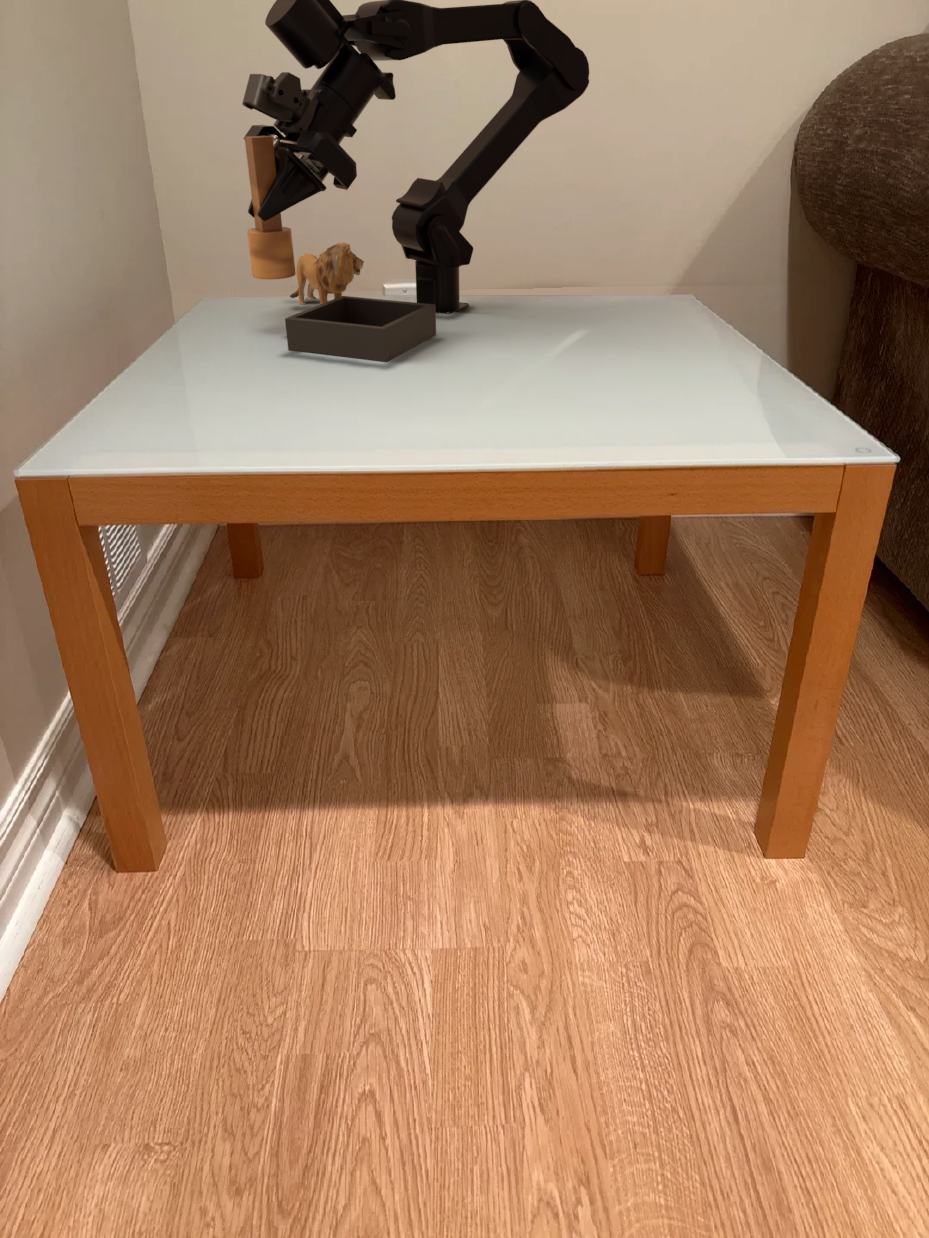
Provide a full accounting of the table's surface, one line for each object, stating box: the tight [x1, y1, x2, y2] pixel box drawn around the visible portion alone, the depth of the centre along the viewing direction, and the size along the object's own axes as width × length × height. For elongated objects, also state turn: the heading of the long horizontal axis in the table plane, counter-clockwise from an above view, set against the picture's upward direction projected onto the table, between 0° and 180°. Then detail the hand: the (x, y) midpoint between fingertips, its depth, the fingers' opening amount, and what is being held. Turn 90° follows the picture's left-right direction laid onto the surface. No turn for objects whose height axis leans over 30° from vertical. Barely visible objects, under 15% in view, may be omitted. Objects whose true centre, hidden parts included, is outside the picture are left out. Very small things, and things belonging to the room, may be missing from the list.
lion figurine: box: [289, 242, 365, 306], centre depth 121 cm, size 15×5×9 cm, turn 44°
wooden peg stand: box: [244, 136, 297, 281], centre depth 104 cm, size 5×5×14 cm
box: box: [284, 295, 437, 363], centre depth 106 cm, size 13×13×4 cm
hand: (255, 216), depth 104 cm, fingers closed on wooden peg stand, 2 cm apart
